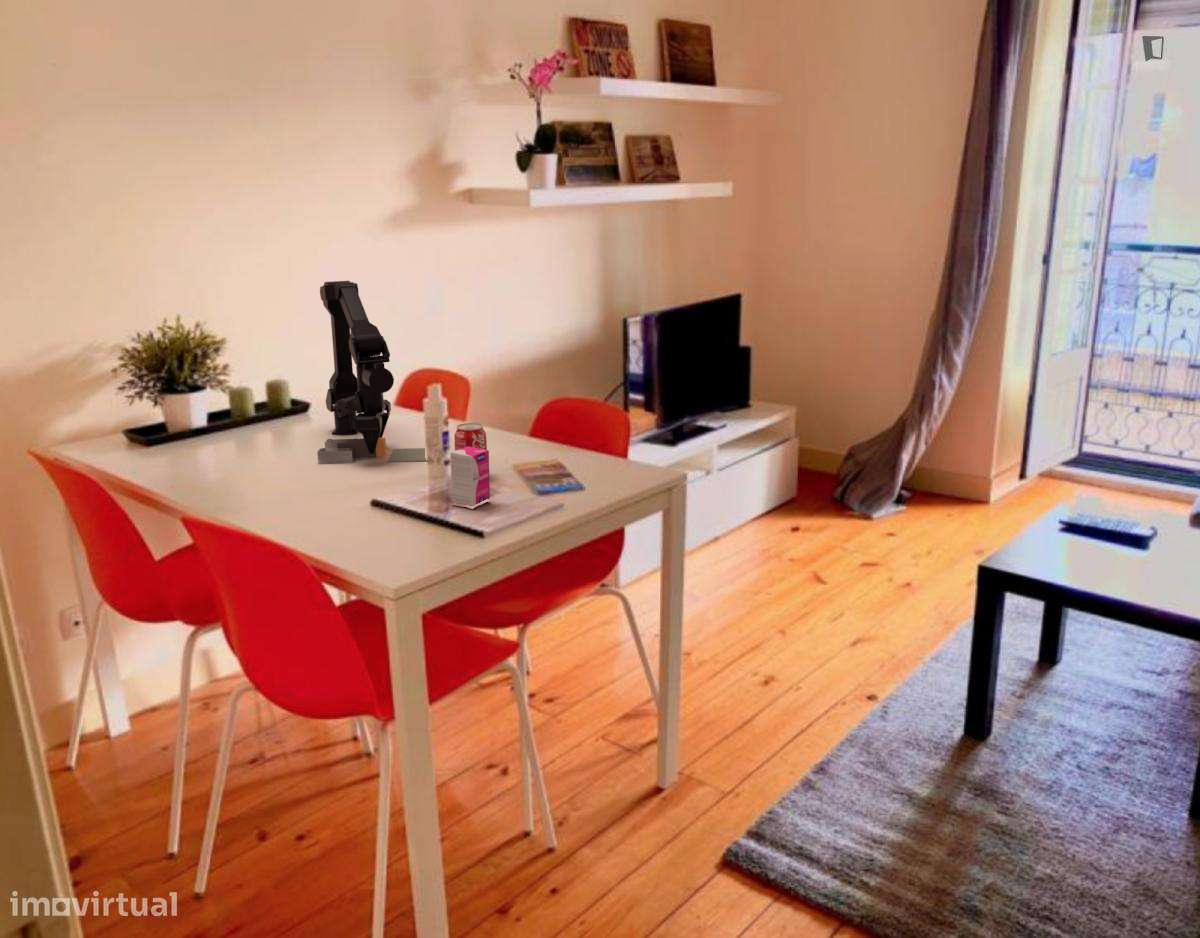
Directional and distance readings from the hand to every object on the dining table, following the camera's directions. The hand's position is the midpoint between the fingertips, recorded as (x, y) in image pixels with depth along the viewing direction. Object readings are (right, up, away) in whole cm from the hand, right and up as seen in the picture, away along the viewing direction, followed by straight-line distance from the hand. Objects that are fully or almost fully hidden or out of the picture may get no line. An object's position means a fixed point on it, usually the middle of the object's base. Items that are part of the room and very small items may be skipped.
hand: (375, 448), depth 233 cm
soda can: (+26, -7, -17) cm, 31 cm away
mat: (+9, -2, +1) cm, 9 cm away
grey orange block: (-3, -2, +1) cm, 4 cm away
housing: (-8, -2, 0) cm, 9 cm away
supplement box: (+28, -12, -34) cm, 45 cm away
